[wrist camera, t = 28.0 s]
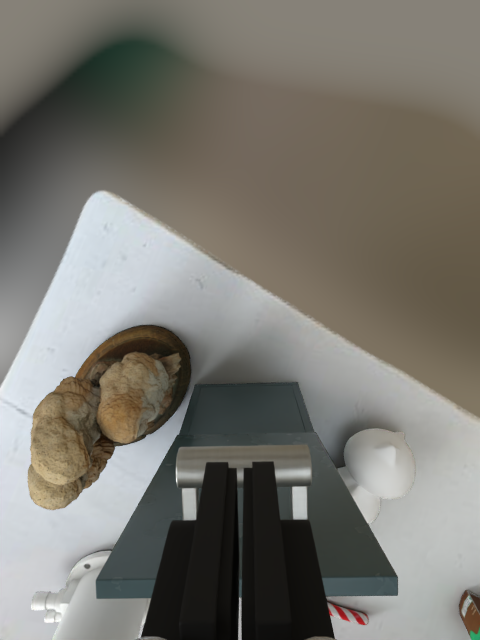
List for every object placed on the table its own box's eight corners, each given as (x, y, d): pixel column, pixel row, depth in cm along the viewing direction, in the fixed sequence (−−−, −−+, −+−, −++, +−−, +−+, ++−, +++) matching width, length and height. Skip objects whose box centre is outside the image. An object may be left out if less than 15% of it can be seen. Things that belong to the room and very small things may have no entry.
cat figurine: (356, 560, 40) (430, 475, 37) (279, 483, 45) (339, 402, 42) (372, 526, 48) (434, 453, 45) (305, 463, 52) (357, 393, 49)
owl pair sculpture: (124, 468, 49) (62, 592, 32) (46, 411, 47) (-63, 512, 30) (215, 363, 45) (198, 442, 29) (134, 299, 44) (65, 343, 27)
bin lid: (398, 596, 15) (396, 466, 15) (95, 599, 16) (90, 471, 16) (316, 441, 34) (314, 381, 34) (177, 443, 34) (175, 384, 34)
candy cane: (351, 640, 53) (268, 581, 51) (349, 631, 54) (267, 573, 52) (392, 605, 51) (308, 543, 49) (389, 596, 53) (306, 535, 51)
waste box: (296, 510, 50) (312, 595, 38) (202, 512, 50) (189, 597, 38) (297, 382, 46) (315, 433, 34) (194, 384, 46) (178, 436, 34)
